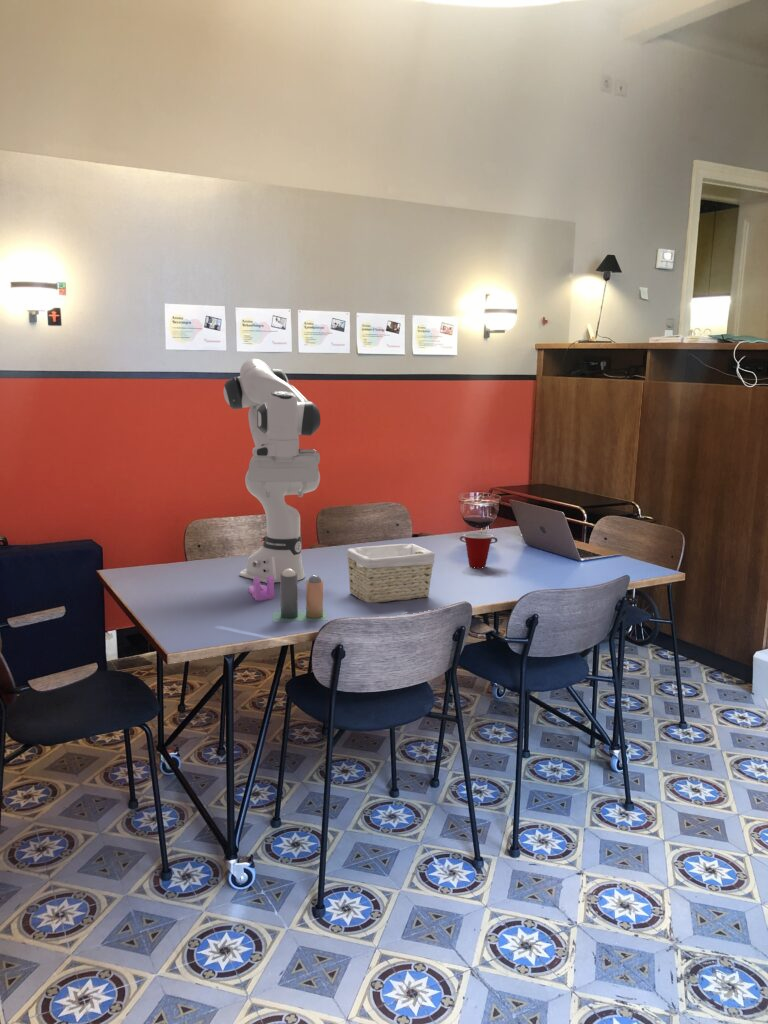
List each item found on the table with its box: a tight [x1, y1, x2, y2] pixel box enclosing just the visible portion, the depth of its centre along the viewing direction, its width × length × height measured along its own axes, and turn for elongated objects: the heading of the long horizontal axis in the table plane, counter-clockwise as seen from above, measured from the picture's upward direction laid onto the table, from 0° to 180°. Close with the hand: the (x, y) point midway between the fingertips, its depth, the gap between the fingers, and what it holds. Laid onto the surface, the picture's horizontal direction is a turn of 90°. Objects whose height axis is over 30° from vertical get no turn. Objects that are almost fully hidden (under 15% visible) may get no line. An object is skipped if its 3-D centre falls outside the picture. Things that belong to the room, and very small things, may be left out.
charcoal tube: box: [279, 569, 299, 619], centre depth 220 cm, size 5×5×14 cm
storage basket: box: [346, 543, 436, 604], centre depth 245 cm, size 24×16×15 cm
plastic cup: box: [463, 532, 494, 569], centre depth 283 cm, size 11×11×12 cm
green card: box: [272, 610, 328, 623], centre depth 222 cm, size 15×9×1 cm, turn 97°
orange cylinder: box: [305, 574, 324, 618], centre depth 222 cm, size 5×5×12 cm
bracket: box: [248, 576, 275, 602], centre depth 245 cm, size 13×6×7 cm, turn 21°
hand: (283, 496), depth 227 cm, fingers open, 8 cm apart
